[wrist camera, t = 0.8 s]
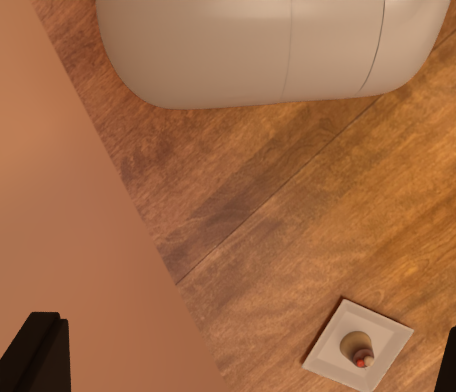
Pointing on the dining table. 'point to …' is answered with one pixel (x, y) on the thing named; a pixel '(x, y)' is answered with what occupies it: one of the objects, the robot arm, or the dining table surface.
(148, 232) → the dining table surface
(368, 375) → the dessert
